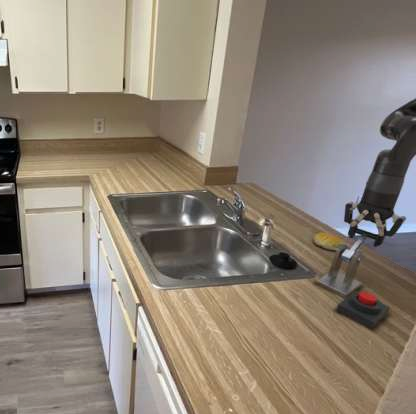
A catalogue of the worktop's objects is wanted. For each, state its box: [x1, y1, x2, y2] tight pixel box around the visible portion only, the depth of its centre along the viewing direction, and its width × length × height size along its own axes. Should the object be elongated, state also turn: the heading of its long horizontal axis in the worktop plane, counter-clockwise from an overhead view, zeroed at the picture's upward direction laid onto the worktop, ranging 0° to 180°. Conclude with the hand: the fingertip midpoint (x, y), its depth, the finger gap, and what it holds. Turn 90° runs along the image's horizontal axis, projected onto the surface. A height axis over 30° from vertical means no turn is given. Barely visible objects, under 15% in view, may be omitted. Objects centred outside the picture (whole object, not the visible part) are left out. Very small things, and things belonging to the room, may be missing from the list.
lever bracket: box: [315, 244, 364, 299], centre depth 96 cm, size 10×8×12 cm
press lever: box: [341, 227, 378, 264], centre depth 96 cm, size 12×6×2 cm, turn 122°
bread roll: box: [313, 232, 345, 251], centre depth 119 cm, size 8×9×4 cm
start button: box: [358, 291, 378, 306], centre depth 86 cm, size 4×4×2 cm
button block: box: [336, 290, 391, 330], centre depth 87 cm, size 10×8×4 cm
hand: (363, 241), depth 98 cm, fingers closed on press lever, 5 cm apart
